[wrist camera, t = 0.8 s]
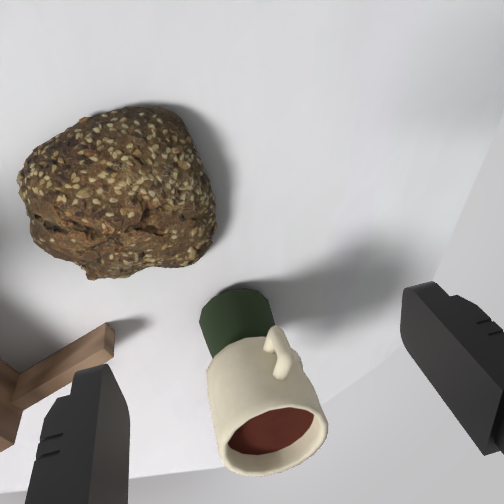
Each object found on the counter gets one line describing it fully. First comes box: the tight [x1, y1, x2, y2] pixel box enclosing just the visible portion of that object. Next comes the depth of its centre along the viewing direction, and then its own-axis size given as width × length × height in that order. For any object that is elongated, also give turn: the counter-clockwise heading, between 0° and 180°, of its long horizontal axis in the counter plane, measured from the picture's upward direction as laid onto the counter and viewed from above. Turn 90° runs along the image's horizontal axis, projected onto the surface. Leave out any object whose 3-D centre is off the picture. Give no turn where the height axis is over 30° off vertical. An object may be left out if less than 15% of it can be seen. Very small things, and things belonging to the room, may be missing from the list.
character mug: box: [199, 289, 328, 477], centre depth 32 cm, size 11×7×13 cm, turn 166°
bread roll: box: [16, 107, 217, 280], centre depth 28 cm, size 13×12×5 cm
